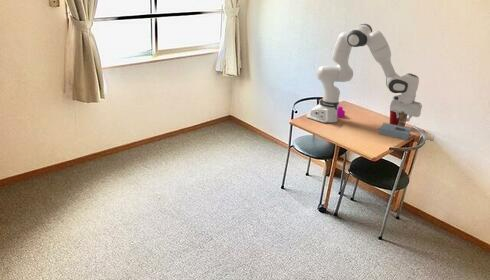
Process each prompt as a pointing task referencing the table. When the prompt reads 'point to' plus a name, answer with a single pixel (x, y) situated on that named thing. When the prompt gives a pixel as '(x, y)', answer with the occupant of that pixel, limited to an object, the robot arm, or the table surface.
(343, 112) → the toy block
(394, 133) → the socket board
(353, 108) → the table surface
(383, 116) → the table surface
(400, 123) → the walnut peg
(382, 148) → the table surface
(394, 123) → the plastic cup
